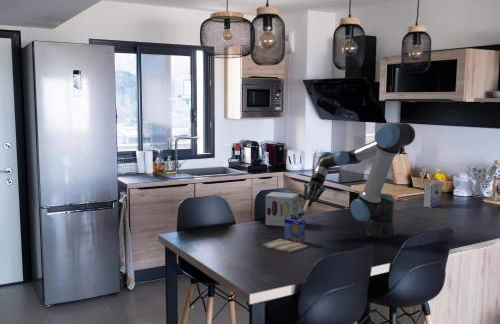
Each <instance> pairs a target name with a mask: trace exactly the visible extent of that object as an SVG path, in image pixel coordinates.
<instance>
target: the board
mask: <svg viewBox="0 0 500 324" xmlns="http://www.w3.org/2000/svg"><path fill="white" fill-rule="evenodd" d="M261 246H262V247H264V248H268V249H273V250H276V251H279V250H280V252H283V251H284V252H283V253H288V254H291V253H292V254H293V253H294V252H297V251H300V250H303V249H307V248H308V244H304V243H301V244H300V243H296V242H292V241H287V240H285V239H283V238H279V239H275V240H272V241H268V242H266V243H262V245H261Z"/></svg>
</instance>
